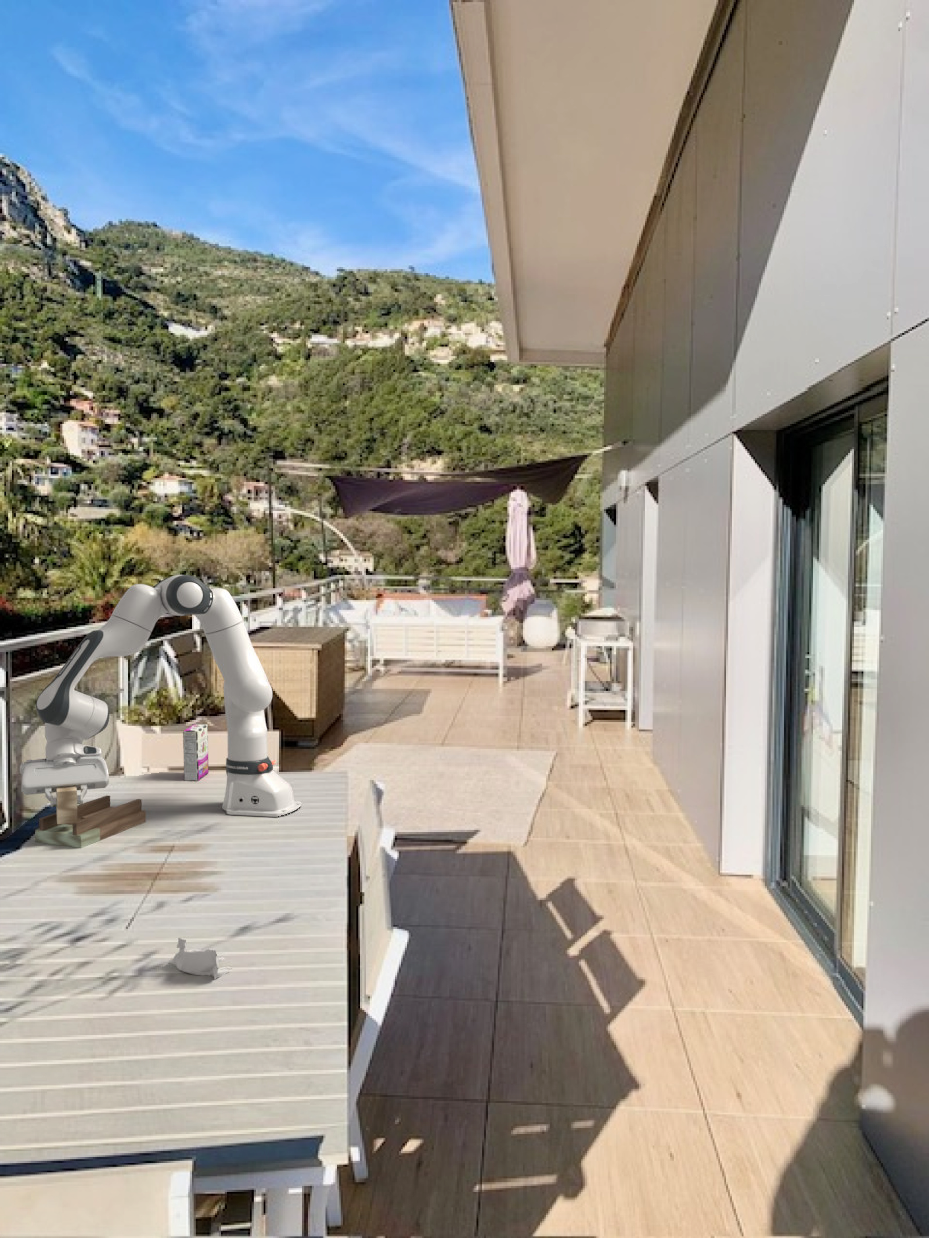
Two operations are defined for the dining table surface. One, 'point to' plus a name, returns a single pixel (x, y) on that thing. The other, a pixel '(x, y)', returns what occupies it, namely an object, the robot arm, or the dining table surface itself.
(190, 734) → the candy bar box
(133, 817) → the channel deck
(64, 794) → the beech block
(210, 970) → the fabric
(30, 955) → the dining table surface
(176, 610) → the robot arm
